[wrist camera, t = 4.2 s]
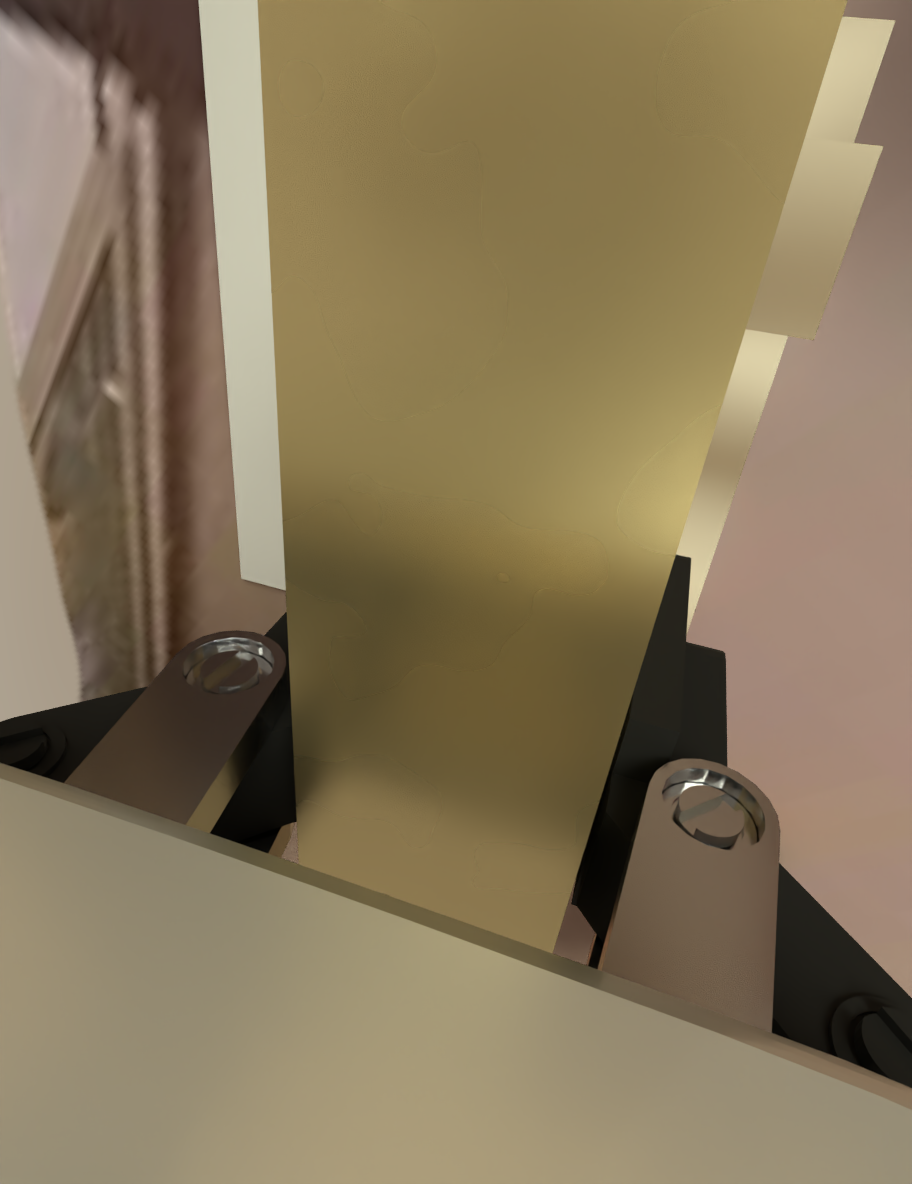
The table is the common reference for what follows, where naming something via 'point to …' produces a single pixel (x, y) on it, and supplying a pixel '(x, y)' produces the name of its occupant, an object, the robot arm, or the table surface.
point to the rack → (793, 274)
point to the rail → (501, 397)
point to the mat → (244, 277)
